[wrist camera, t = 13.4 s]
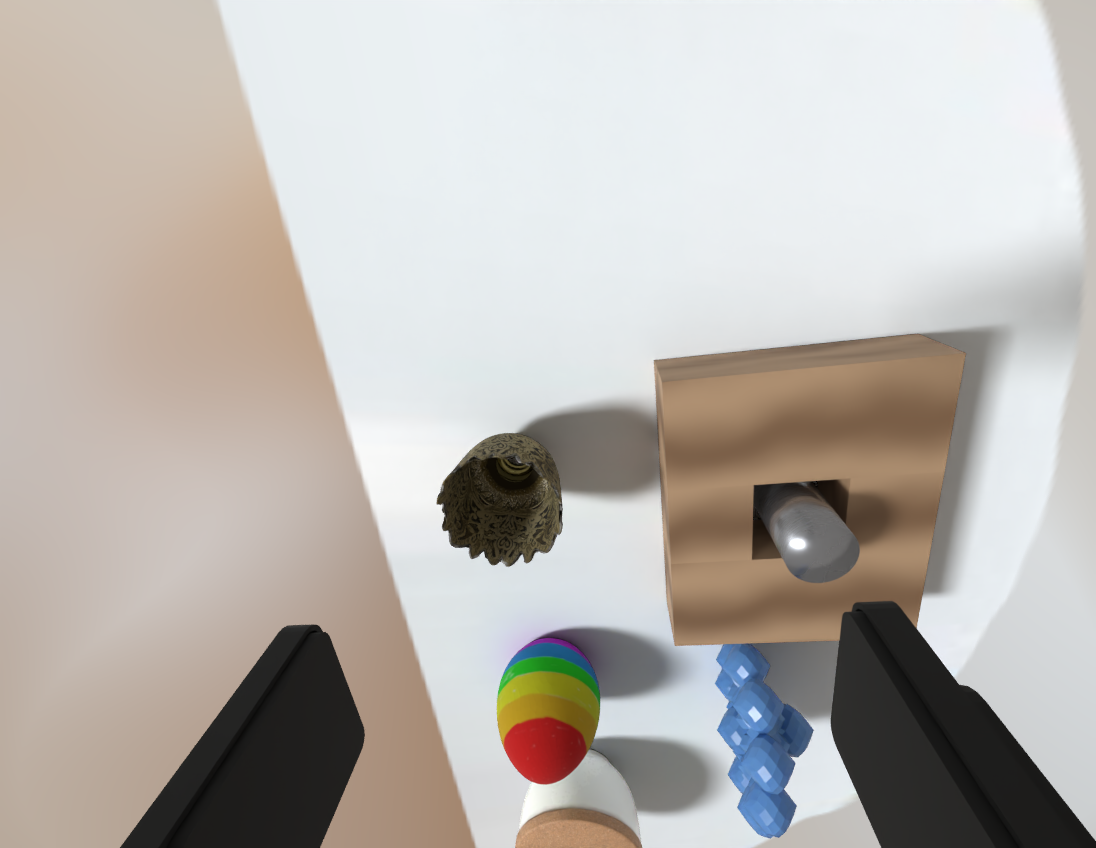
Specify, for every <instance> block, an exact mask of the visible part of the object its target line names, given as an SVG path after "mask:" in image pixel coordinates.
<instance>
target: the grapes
mask: <svg viewBox="0 0 1096 848" xmlns="http://www.w3.org/2000/svg"><path fill="white" fill-rule="evenodd" d="M716 660H717V662H718V663H719V664H720V665H721V667H722V670H721V672H720V674H719V676H718V678H717V681H716V683H715V684H716V685H717V687H718V688H719V689H720V691H721V692H722V693H723V695H724V696H725V697H726V698H727V699H728V700H729V703H728V705H727V708H728V710H727V711H726V713H725V714H724V716H723V719H722V721H721V723H720V725H719V727H718V729H717V731H718V732H719V733H720V735H721V736H722V737H723V739H724V740H725V741H726V743H727V744H728V745H729V747H730V748H731V749H732V750H733V752H734V753H735V755H736V757H735V759H734V761H733V764H732V766H731V768H730V771H729V773H728V776H729V777H730V779H731V780H732V781H733V783H734V784H735V786H736V787H737V788H738V789H739V791H740V792H741V793H742V794H743V795H742V797H741V799H740V802H739V805H738V807H737V808H738V809H739V811H740V812H741V814H742V815H743V816H744V818H745V819H746V820H747V822H748V823H749V824H750V826H751V827H752V828H753V829H754V830H755V831H756V832H757V833H758V834H759V835H761V836H763V837H767V838H772V837H773V836H774V837H778V838H779V837H780V836H781V835H783V834H784V833H785V832H786V830H787V829H788V827H789V825H790V823H791V820H792V818H793V816H794V812H795V809H796V804H795V803H794V802H793V800H792V799H791V798H790V796H789V795H788V794H787V792H786V791H785V790H784V788H785V787H786V785H787V784H788V782H789V779H790V777H791V775H792V772H793V769H794V766H795V762H794V761H793V759H792V758H791V757H799V756H800V755H801V754H802V753H803V752H804V751H805V750H806V748H807V746H808V744H809V742H810V739H811V737H812V734H813V729H812V727H811V726H810V725H809V723H808V722H807V721H806V720H805V719H804V717H803V716H802V715H801V714H800V713H799V712H798V711H796V710H795V709H794V708H792V707H791V706H790V705H788V704H783V703H782V702H781V700H780V699H779V698H778V697H777V695H776V694H775V693H774V692H773V691H772V689H771V688H770V687H768V686H767V685H766V684H764V682H763V681H764V679H765V677H766V675H767V673H768V670H769V668H770V664H769V663H768V662H767V660H766V659H765V658H764V657H763V656H762V654H761V653H760V652H759V651H758V650H757V649H756V648H755V647H753V646H752V645H750V644H749V643H746V644H724V645H723V647H722V649H721V651H720V653H719V655H718V657H717V659H716Z"/></svg>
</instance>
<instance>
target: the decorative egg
mask: <svg viewBox="0 0 1096 848" xmlns="http://www.w3.org/2000/svg"><path fill="white" fill-rule="evenodd" d="M599 715H600V692H599V686H598V681H597V678H596V675H595V672H594V670H593V668H592V666H591V664H590V662H589V661H588V659H587V658H586V657H585V655H584V654H583V653H582V652H581V651H580V650H579V649H578V648H577V647H575V646H574V645H572V644H571V643H569V642H567V641H564V640H561V639H555V638H543V639H538V640H535V641H533V642H531V643H529V644H528V645H526V646H525V647H523V648H522V649H521V650H520V651H518V652H517V654H516V655H515V656H514V657H513V658H512V659H511V661H510V663H509V664H508V666H507V667H506V669H505V672H504V674H503V677H502V679H501V683H500V686H499V691H498V698H497V721H498V728H499V733H500V737H501V741H502V744H503V746H504V749H505V751H506V753H507V755H508V757H509V759H510V761H511V762H512V764H513V765H514V767H515V768H516V769H517V770H518V771H519V772H520V773H521V774H522V775H523V776H524V777H525V778H526V779H528V780H530V781H531V782H534V783H537V784H543V785H547V784H553V783H556V782H558V781H560V780H562V779H564V778H565V777H567V776H568V775H569V774H570V773H572V772H573V771H574V770H575V769H576V768H577V766H578V765H579V764H580V763H581V762H582V760H583V759H584V757H585V756H586V754H587V752H588V750H589V749H590V746H591V744H592V742H593V739H594V737H595V733H596V730H597V726H598V721H599Z"/></svg>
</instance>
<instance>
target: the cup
mask: <svg viewBox="0 0 1096 848" xmlns="http://www.w3.org/2000/svg"><path fill="white" fill-rule="evenodd" d="M513 457H514V458H515V459H516V461H518V462H519V463H523V465H514V464H512V463H510V462H509V461H508V459H510V458H513ZM442 503H443V508H442V511H443V513H444V515H445V517H444V522H443V525H442V529H443V531H449V542H450V544H451V546H453V547H455V548H462V547H467V548H469V554H470V558H471V559H474V558H476V557H478V556H479V555H480V554H481V553H482V552H483V551H484V554H485V557H486V558H487V559H488V561H489V563H490V564H491V565H497V564H498V563H499V562H501V560H502V563H503V564H505V565H506V566H507V567H509V566H512V565H513V564H514V563H515V562H516V561H517V560H518V559H519V557H520V556H521V555H522V554H523V557H524V562H525V563H526V564H527V563H529V562H530V561H531V560H532V558H533V556H534V554H535V552H541V553H548V552H549V551H550V550H551V548H552V546H553V545H554V542H555V539H556V537H557V535H560V533H561V531H562V526H563V524H562V510H563V508H562V497H561V487H560V480H559V475H558V471H557V468H556V465H555V463H554V461H553V459H552V457H551V455H550V454H549V453H548V451H547V450H546V449H545V448H544V447H543V446H542V445H540V444H539V443H538V442H536V441H535V440H533V439H531V438H529V437H527V436H524V435H520V434H514V433H504V434H498V435H494V436H491V437H489V438H487V439H485V440H483V441H481V442H480V443H479V444H477V445H476V446H475V447H474V448H473V449H471V450H470V451H469V452H468V454H467V455H466V456H465V457H464V458H463V459H462V460H461V461H460V463H459V464H458V465H457V466H456V467H455V469H454V470H453V471H452V472H451V473H450V474H449V475H448V476H447V478H446V479H445V481H444V482H443V484H442V487H441V492H440V494H439V495H438V498H437V504H439V505H441V504H442Z"/></svg>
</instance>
